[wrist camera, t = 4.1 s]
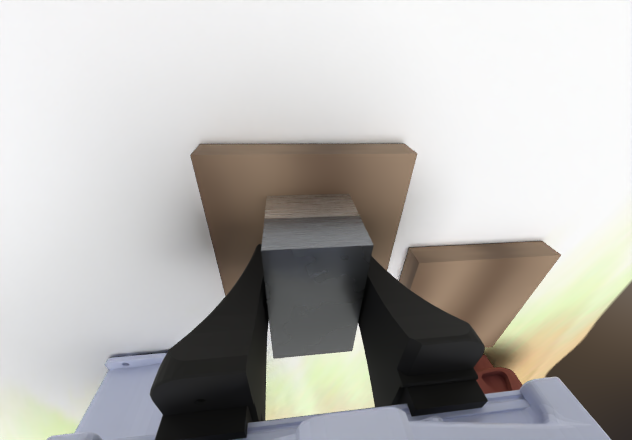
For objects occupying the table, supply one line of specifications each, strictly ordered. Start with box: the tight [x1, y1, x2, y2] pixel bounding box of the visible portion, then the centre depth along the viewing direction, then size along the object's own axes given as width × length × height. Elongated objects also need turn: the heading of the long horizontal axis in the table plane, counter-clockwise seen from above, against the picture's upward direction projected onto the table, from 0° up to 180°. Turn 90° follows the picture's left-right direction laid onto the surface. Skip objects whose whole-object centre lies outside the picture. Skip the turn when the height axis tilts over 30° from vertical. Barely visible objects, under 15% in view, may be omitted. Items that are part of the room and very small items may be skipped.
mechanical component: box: [474, 355, 522, 394], centre depth 23 cm, size 12×10×10 cm
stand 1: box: [190, 144, 417, 296], centre depth 15 cm, size 10×11×2 cm
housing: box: [261, 194, 374, 358], centre depth 12 cm, size 4×7×4 cm, turn 178°
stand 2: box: [399, 241, 561, 347], centre depth 20 cm, size 10×11×2 cm
